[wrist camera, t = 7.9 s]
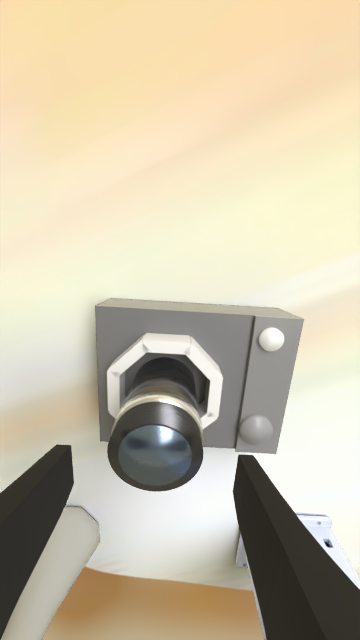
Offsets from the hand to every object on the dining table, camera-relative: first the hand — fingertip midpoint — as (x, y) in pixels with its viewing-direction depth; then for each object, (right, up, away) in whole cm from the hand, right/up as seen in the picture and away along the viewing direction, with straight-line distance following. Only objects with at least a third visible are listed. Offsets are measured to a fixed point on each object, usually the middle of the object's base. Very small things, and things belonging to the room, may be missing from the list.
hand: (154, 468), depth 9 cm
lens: (0, +2, +7) cm, 7 cm away
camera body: (+2, +2, +10) cm, 11 cm away
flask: (-11, -17, +15) cm, 26 cm away
